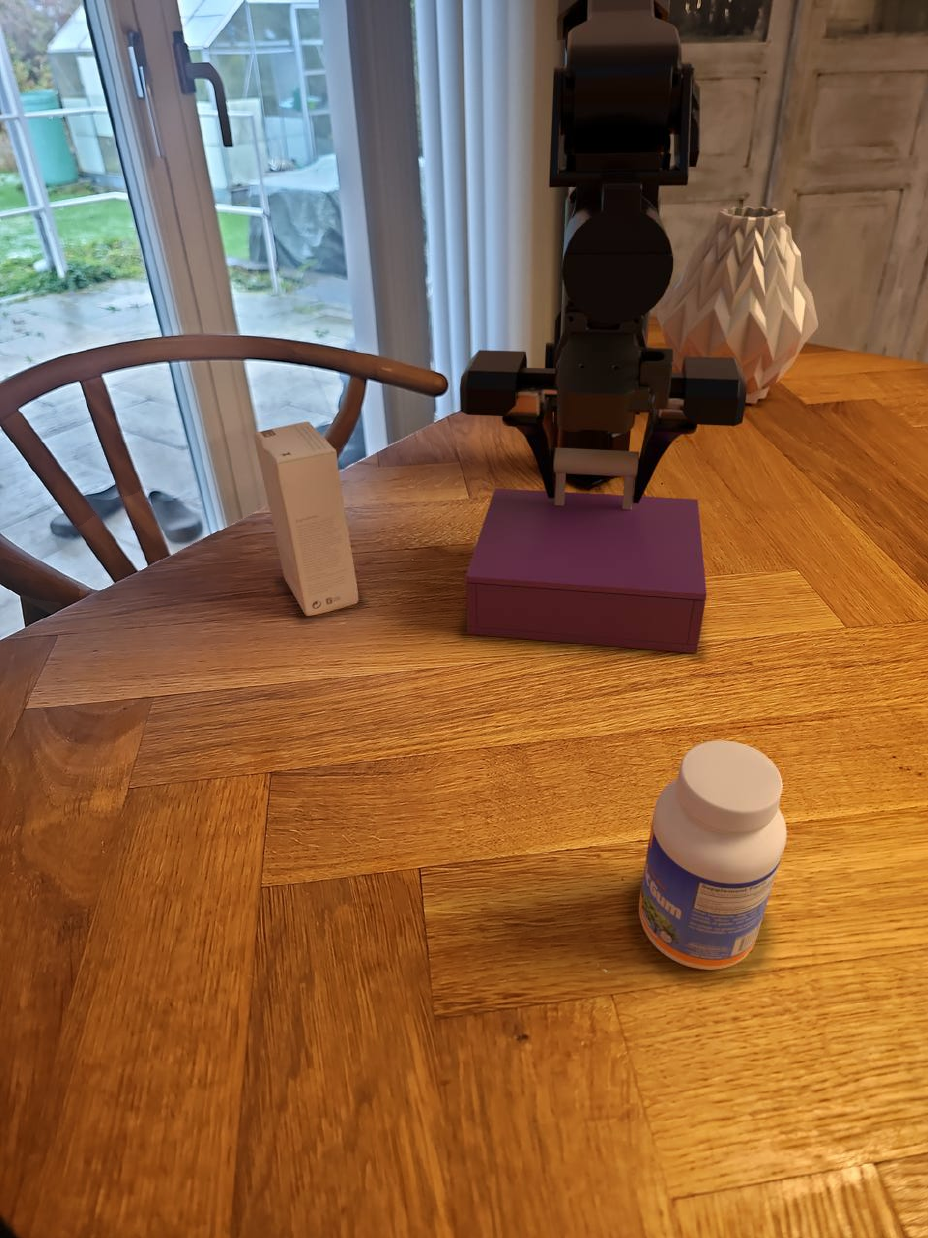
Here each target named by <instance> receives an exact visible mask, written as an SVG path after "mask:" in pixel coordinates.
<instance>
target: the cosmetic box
mask: <svg viewBox="0 0 928 1238" xmlns="http://www.w3.org/2000/svg"><path fill="white" fill-rule="evenodd" d="M253 438H254V443H255V449H256V453H257V458H258V463H259V468H260V472H261V476H262V482H263V486H264V491H265V495H266V500H267V504H268V509H269V513H270V518H271V522H272V526H273V532H274V536H275V541H276V546H277V550H278V555H279V560H280V565H281V569H282V573H283V578H284V580H285V582H286V584H287V586H288V587H289V589H290V591H291V592H292V594H293V596H294V597H295V600H296V601H297V603H298V605H299V607H300V608H301V610H302V612H303V614H304V615H305V616H306V617H310V616H315V615H321V614H325V613H329V612H332V611H336V610H340V609H343V608H347V607H350V606H353V605H356V604H358V602H359V591H358V584H357V578H356V577H357V576H356V573H355V565H354V557H353V553H352V547H351V539H350V533H349V527H348V520H347V513H346V507H345V500H344V494H343V488H342V482H341V476H340V471H339V463H338V455H337V450H336V448H335V447H333V445H332V444H330V443H329V441H328V440H327V439H325V437H323V435H322V434H321V433H320V432H319V431H318V430H317V429H316V428H315V427H314V425H313V424H312V423H311V422H310V421H302V422H297V423H293V424H288V425H284V426H279V427H274V428H270V429H266V430H262V431H257V432H254V435H253Z"/></svg>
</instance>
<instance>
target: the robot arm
mask: <svg viewBox="0 0 928 1238" xmlns="http://www.w3.org/2000/svg"><path fill="white" fill-rule="evenodd" d="M670 5H671V0H556V42H564V47H565V48H564V65H554V66H553V78H552V79H553V80H552V81H553V82H552V83H553V84H552V101H551V102H552V106H551V127H550V128H551V130H550V132H551V133H550V153H549V155H550V156H549V179H548V181H549V182H548V189H549V188H551V189H552V188H571V189H570V191H569V195H568V196H567V197H566V198H565V212H564V233H563V234H564V235H563V236H564V237H563V238H564V239H563V252H562V267H561V272H562V286H561V287H562V288H561V289H562V291H561V309H560V311H559V313H558V314H557V315H556V318H555V320H554V332H553V333H554V335H553V336H554V337H553V342H545V352H544V353H545V354H544V367H528V357H527V351H521V350H518V351H517V350H486V349H485V350H484V349H478V351H477V352H476V353H475V354H474V355H473V356H472V357H471V358H470V360H469V362H468V364H467V366H466V367H465V369H464V371H463V373H462V375H461V376H460V384H459V406H460V409H459V410H460V412H461V413H463V414H465V415H468V416H485V417H486V416H488V417H490V416H491V417H501V421H502V424H503V425H504V426H505V427H512V428H516V429H517V430H518V431H519V432H520V433H521V435H523V437H524V439H525V440H526V442H527V445H528V446H529V448H530V450H531V452H532V455H533V458H534V459H535V462H536V463H535V464H537V468H538V471H539V474H540V477H541V480H542V483H543V486H544V489H545V491H546V492H547V495H548V497H549V498H552V499H553V498H554V496H555V477H556V473H554V471H553V461H554V451H555V448H574V449H596V450H617V451H630V445H631V434H632V429H633V428H634V426H635V423H636V416H639V415H641V413H647V414H648V416H647V420H646V425H645V431H644V434H643V439H642V443H641V448H640V452H639V463H638V474H637V477H635V481H634V491H633V503H639V501H640V499H641V497H642V496H644V493H645V491H646V489H647V487H648V485H649V483H650V481H651V479H652V478H653V475H654V473H655V471H656V469H657V468H658V465H659V463H660V461H661V459H662V458H663V456H664V455H665V453H666V452H667V450H668V449H669V447H670V446H671V445H672V443H673V442H674V441H676V440H677V439H678V438H679V437H680V436H683V435H693V434H695V433H696V432H697V429H698V425H699V426H701V425H702V426H720V427H721V426H722V427H723V426H724V427H735V426H738V425H741V424H743V422H744V415H745V411H746V410H745V409H746V404H747V403H746V394H747V386H746V382H745V378H744V374H743V370H742V367H741V366H740V364H739V363H738V362H737V360H736V359H735V358H723V357H690V356H684V359H683V364H682V371H681V373H676V372H673V368H674V367H673V349H667V348H660V347H659V348H658V347H657V348H656V347H649V346H648V339H649V330H650V319H651V310H652V309H655V307H656V305H658V303H659V302H660V301H661V300H662V298H663V297H665V294H666V291H667V290H668V288H669V285H670V284H671V280H672V276H673V272H674V253H673V248H672V245H671V240H670V238H669V235H668V233H667V231H666V229H665V226H664V223H663V221H662V218H661V215H660V214H661V213H660V212H661V204H662V203H661V202H662V197H661V196H659V192H660V187H685V186H688V184H689V175H690V168H696V167H697V164H698V160H699V155H700V151H701V150H700V147H701V145H700V144H701V143H700V141H701V139H700V137H701V136H700V135H701V133H700V132H701V128H700V127H701V125H700V124H701V113H700V112H701V110H700V109H701V94H700V93H701V87H700V85H699V84H698V83H697V81H696V80H695V67H694V66H693V63H692V62H691V61H683V56H682V54H683V53H682V51H683V50H682V42H681V39H680V35H679V30H678V29H677V27H676V26H675V25H674V24H673V23H669V22H668V21H669V17H670ZM672 136H673V164H672V165H671V159H672V158H671V157H672V153H671V146H672V144H671V143H672V138H671V137H672ZM562 138H563V156H564V157H565V158H566V164H565V165H566V166H562V167H561V166H560V165H561V143H562ZM617 477H618V476H607V475H588V474H569V473H566V479H565V480H567V481H570V482H573V483H575V484H577V485H579V486H582V487H584V488H586V489H594V488H596V487H598V486H601V485H602V484H605V483H608V482H609V481H611V480H613V479H615V478H617Z"/></svg>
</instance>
